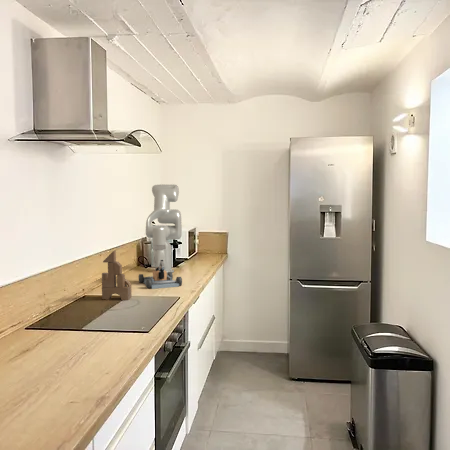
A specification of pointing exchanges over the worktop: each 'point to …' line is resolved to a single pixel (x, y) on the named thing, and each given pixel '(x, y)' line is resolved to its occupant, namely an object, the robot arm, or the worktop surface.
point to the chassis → (160, 284)
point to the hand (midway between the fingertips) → (159, 277)
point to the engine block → (156, 275)
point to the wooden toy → (110, 280)
